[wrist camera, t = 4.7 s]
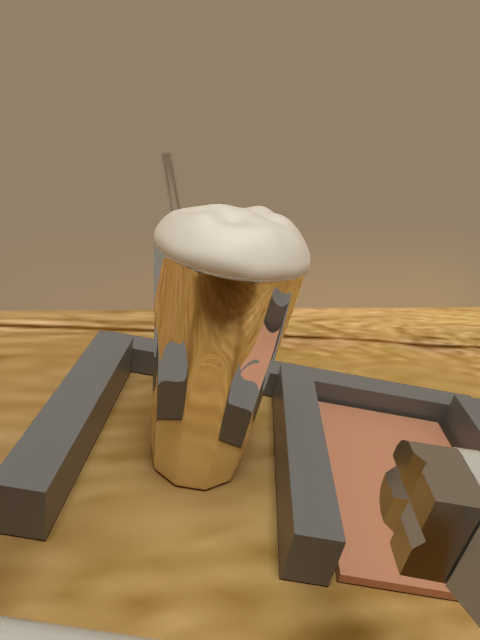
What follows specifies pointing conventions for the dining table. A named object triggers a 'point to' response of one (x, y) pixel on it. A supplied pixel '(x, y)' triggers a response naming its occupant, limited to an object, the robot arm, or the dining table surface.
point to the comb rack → (290, 458)
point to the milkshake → (216, 329)
